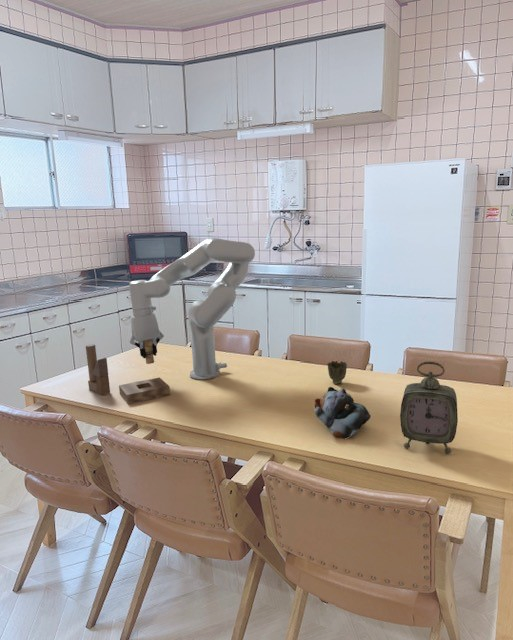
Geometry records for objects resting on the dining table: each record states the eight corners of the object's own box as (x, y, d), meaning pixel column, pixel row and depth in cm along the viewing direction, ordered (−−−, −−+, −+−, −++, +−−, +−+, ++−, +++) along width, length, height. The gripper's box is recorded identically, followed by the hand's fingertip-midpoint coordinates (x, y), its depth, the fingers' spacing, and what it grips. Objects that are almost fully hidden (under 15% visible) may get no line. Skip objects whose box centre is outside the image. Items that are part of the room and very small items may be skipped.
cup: (325, 385, 187) (325, 365, 185) (330, 379, 194) (329, 360, 192) (344, 387, 184) (344, 367, 183) (348, 381, 191) (348, 361, 189)
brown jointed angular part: (102, 395, 186) (96, 350, 182) (88, 389, 193) (83, 345, 189) (110, 392, 188) (105, 347, 184) (97, 386, 196) (92, 343, 192)
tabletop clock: (399, 450, 135) (401, 364, 130) (401, 436, 143) (404, 354, 138) (455, 458, 130) (460, 368, 124) (455, 443, 138) (459, 358, 133)
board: (160, 385, 194) (159, 377, 193) (170, 394, 183) (169, 386, 183) (119, 394, 186) (118, 385, 186) (127, 404, 176) (126, 394, 175)
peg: (153, 360, 199) (150, 336, 196) (156, 362, 195) (152, 338, 193) (144, 362, 197) (140, 338, 195) (146, 364, 194) (143, 340, 191)
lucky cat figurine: (344, 443, 140) (320, 401, 140) (322, 443, 151) (300, 404, 151) (379, 416, 147) (356, 376, 147) (356, 418, 158) (335, 380, 158)
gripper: (160, 306, 198) (166, 349, 203) (119, 314, 191) (126, 358, 195) (166, 309, 192) (172, 353, 196) (124, 317, 184) (131, 363, 189)
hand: (149, 355), depth 195 cm, fingers closed on peg, 3 cm apart
